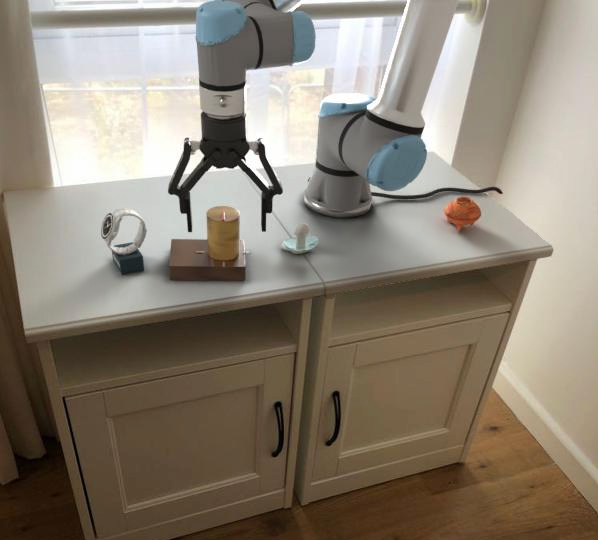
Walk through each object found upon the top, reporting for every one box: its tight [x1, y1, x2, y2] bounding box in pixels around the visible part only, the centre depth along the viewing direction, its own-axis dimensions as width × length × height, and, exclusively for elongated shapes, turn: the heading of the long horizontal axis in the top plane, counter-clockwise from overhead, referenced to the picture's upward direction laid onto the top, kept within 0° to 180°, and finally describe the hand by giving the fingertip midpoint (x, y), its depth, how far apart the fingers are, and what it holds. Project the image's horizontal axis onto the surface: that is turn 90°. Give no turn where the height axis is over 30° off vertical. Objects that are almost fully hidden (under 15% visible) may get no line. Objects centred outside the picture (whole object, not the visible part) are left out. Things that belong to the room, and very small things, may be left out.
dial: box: [206, 205, 241, 261], centre depth 122 cm, size 6×6×8 cm
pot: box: [443, 196, 482, 233], centre depth 144 cm, size 8×8×7 cm
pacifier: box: [280, 222, 319, 255], centre depth 132 cm, size 7×6×6 cm
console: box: [168, 238, 251, 282], centre depth 126 cm, size 15×10×3 cm
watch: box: [100, 208, 148, 276], centre depth 122 cm, size 6×8×11 cm
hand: (227, 228), depth 123 cm, fingers open, 13 cm apart
